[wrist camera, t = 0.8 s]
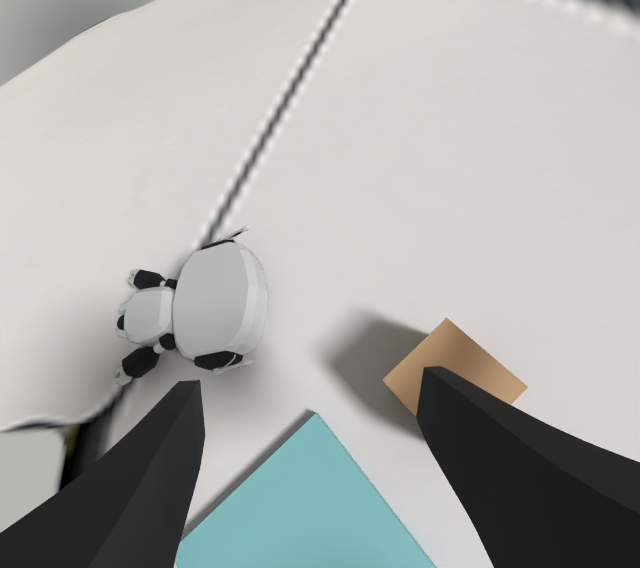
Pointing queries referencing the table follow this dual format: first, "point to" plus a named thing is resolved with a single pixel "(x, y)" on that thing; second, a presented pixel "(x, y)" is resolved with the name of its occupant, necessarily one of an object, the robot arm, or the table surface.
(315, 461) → the teal board
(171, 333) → the robot toy
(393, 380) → the walnut cube
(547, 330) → the table surface
